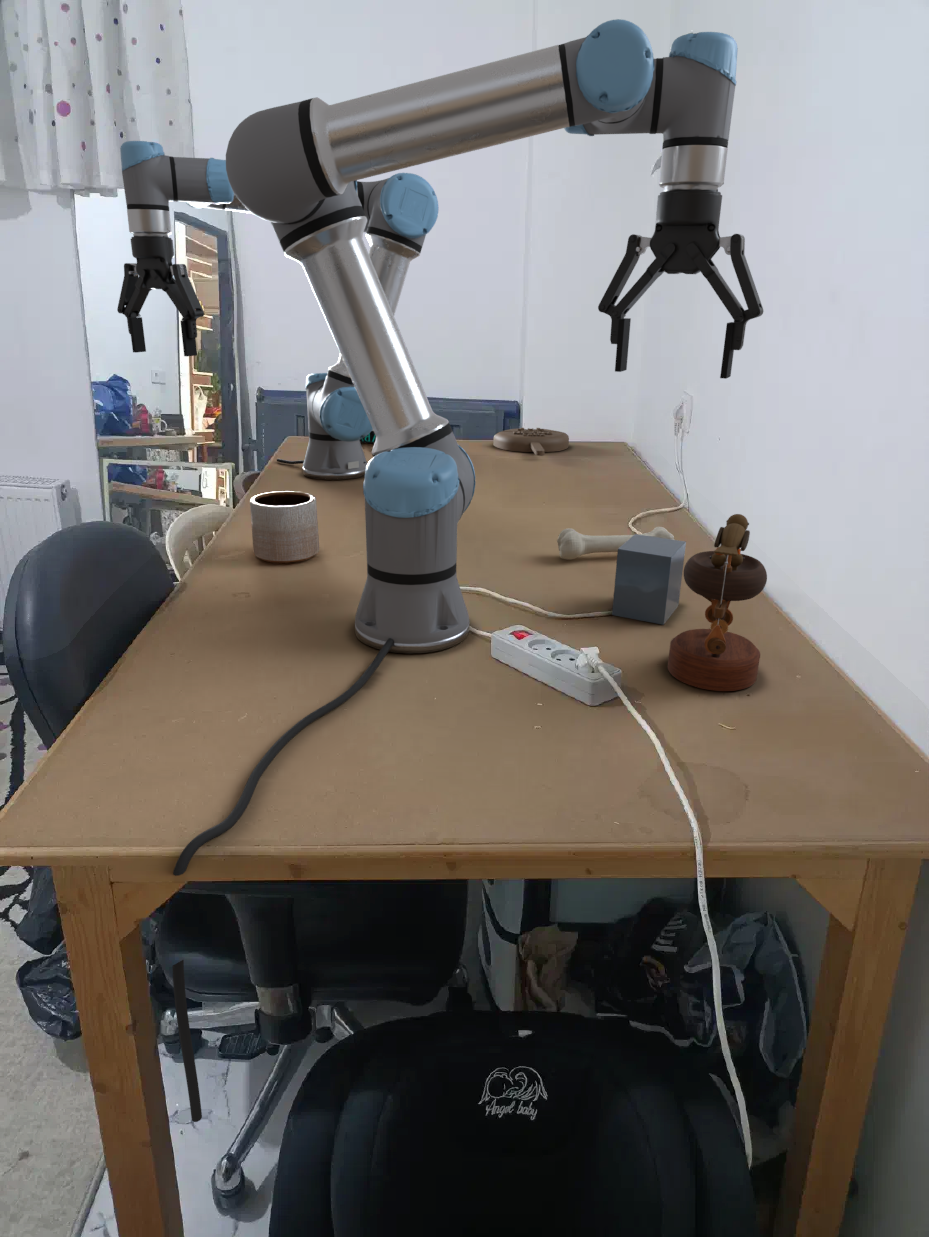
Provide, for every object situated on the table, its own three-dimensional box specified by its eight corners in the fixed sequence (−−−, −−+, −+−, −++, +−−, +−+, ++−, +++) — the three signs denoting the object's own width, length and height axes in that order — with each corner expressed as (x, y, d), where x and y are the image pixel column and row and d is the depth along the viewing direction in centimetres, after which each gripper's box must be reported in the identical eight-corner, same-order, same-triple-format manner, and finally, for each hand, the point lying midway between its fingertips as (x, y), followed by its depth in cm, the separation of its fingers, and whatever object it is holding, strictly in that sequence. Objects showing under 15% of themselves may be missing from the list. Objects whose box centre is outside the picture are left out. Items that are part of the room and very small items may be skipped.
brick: (678, 605, 123) (686, 541, 120) (663, 625, 117) (671, 557, 113) (629, 597, 126) (635, 533, 123) (611, 615, 120) (617, 548, 116)
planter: (251, 547, 145) (246, 492, 142) (314, 542, 148) (311, 489, 145) (256, 567, 136) (251, 509, 132) (324, 561, 139) (321, 504, 135)
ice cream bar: (499, 460, 215) (500, 444, 214) (491, 440, 241) (491, 425, 240) (581, 461, 216) (582, 444, 215) (564, 441, 242) (565, 426, 241)
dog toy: (664, 549, 148) (667, 521, 146) (677, 560, 143) (680, 531, 141) (552, 553, 145) (554, 525, 143) (561, 564, 139) (563, 535, 138)
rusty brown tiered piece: (773, 700, 96) (786, 530, 88) (674, 701, 97) (678, 534, 90) (747, 645, 110) (756, 494, 102) (660, 647, 111) (663, 498, 104)
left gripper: (216, 236, 156) (226, 356, 165) (119, 237, 167) (133, 349, 175) (186, 234, 150) (199, 359, 158) (88, 235, 161) (104, 351, 169)
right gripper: (804, 190, 99) (776, 377, 107) (600, 195, 109) (589, 365, 117) (796, 184, 93) (767, 383, 101) (580, 190, 103) (570, 370, 111)
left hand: (164, 354), depth 167 cm, fingers open, 13 cm apart
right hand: (671, 374), depth 109 cm, fingers open, 13 cm apart
